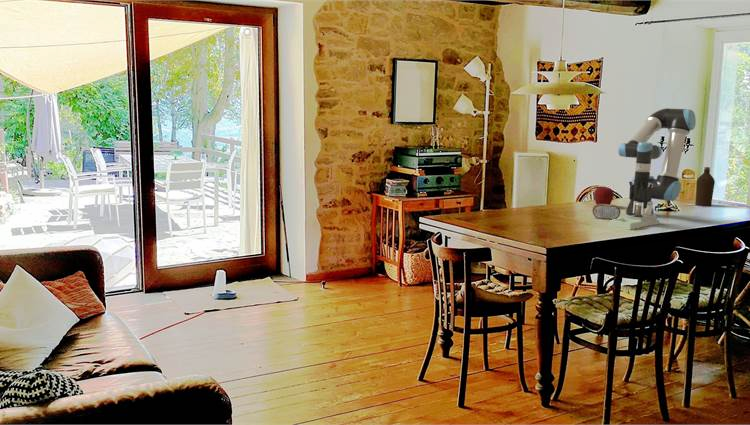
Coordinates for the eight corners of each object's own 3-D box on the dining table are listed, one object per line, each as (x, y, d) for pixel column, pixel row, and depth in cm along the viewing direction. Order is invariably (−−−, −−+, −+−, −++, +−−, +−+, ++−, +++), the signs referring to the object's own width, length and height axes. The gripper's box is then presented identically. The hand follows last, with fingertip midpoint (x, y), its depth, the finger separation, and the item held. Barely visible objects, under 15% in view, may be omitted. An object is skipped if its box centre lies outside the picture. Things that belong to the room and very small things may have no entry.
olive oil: (714, 207, 440) (718, 168, 436) (696, 206, 442) (700, 167, 437) (709, 204, 450) (713, 166, 446) (692, 203, 452) (696, 166, 448)
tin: (619, 219, 389) (620, 204, 387) (619, 220, 386) (621, 205, 384) (591, 217, 393) (593, 203, 391) (592, 218, 390) (593, 204, 388)
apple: (604, 209, 423) (606, 187, 421) (589, 206, 432) (590, 185, 430) (616, 207, 430) (618, 186, 428) (600, 204, 439) (602, 184, 437)
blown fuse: (632, 220, 374) (634, 202, 372) (636, 220, 376) (638, 202, 374) (639, 222, 370) (641, 203, 369) (643, 221, 373) (645, 203, 371)
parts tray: (609, 226, 368) (610, 219, 367) (622, 223, 375) (622, 217, 374) (629, 229, 358) (630, 223, 358) (642, 227, 366) (643, 221, 365)
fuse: (641, 219, 379) (643, 201, 377) (645, 218, 382) (647, 200, 380) (648, 220, 376) (650, 202, 374) (652, 219, 378) (654, 201, 377)
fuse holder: (625, 223, 375) (626, 215, 374) (642, 220, 385) (643, 212, 385) (642, 226, 367) (642, 218, 367) (659, 223, 378) (659, 215, 377)
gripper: (624, 169, 373) (620, 211, 377) (653, 173, 360) (649, 216, 364) (632, 169, 377) (628, 210, 381) (661, 172, 364) (657, 215, 368)
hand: (638, 213), depth 373 cm, fingers closed on blown fuse, 4 cm apart
